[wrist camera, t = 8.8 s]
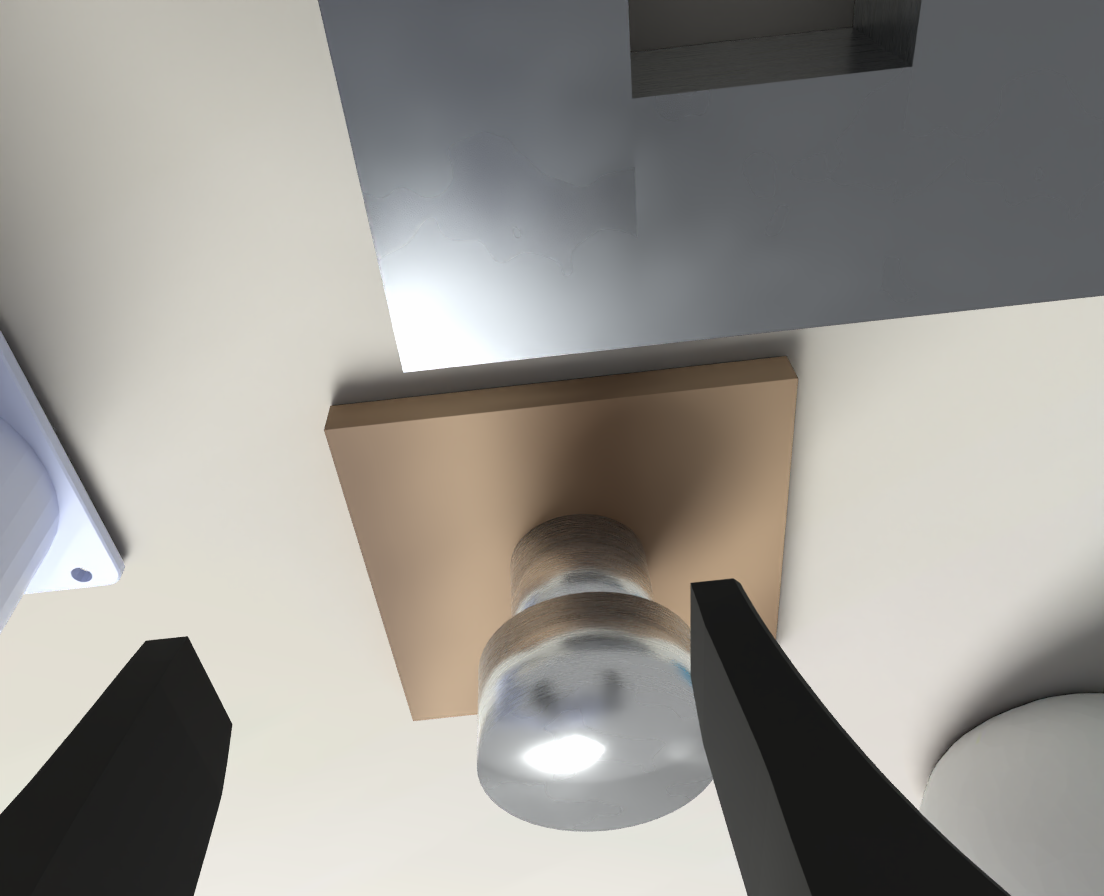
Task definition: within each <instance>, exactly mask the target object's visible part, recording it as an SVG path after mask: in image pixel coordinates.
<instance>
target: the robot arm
mask: <svg viewBox="0 0 1104 896" xmlns="http://www.w3.org/2000/svg"><path fill="white" fill-rule="evenodd" d="M80 568H84V569H86V570H88V571H84V570H82V569H80ZM124 568H125V565H124V562H123V560H122V558H121V556H120V554H119V552H118V550H117V548H116V547H115V545H114V543H113V541H112V539H111V537H110V535H109V533H108V532H107V530H106V528H105V526H104V524H103V522H102V520H101V518H100V516H99V515H98V513H97V511H96V509H95V507H94V505H93V503H92V501H91V500H90V498H89V496H88V494H87V492H86V490H85V488H84V486H83V485H82V483H81V481H80V479H79V477H78V475H77V473H76V471H75V469H74V468H73V466H72V464H71V462H70V460H69V458H68V456H67V454H66V453H65V451H64V449H63V447H62V445H61V443H60V441H59V439H58V438H57V436H56V434H55V432H54V430H53V428H52V426H51V424H50V422H49V421H48V419H47V417H46V415H45V413H44V411H43V409H42V407H41V406H40V404H39V402H38V400H37V398H36V396H35V394H34V392H33V391H32V389H31V387H30V385H29V383H28V381H27V379H26V377H25V375H24V374H23V372H22V370H21V368H20V366H19V364H18V362H17V360H16V359H15V357H14V355H13V353H12V351H11V349H10V347H9V345H8V344H7V342H6V340H5V338H4V336H3V334H2V332H1V331H0V634H1V632H2V630H3V629H4V627H5V625H6V624H7V622H8V620H9V618H10V617H11V615H12V613H13V611H14V610H15V608H16V606H17V605H18V603H19V601H20V599H21V598H22V596H23V594H29V593H39V592H48V591H57V590H67V589H76V588H85V587H95V586H104V585H110V584H114V583H116V582H117V581H118V580H120V577H121V575H122V573H123V571H124ZM690 664H691V682H692V687H693V693H694V698H695V704H696V709H697V715H698V720H699V725H700V731H701V736H702V741H703V746H704V749H705V753H706V756H707V760H708V763H709V766H710V770H711V773H712V777H713V780H714V783H715V787H716V790H717V794H718V797H719V801H720V804H721V807H722V811H723V814H724V817H725V821H726V824H727V828H728V831H729V834H730V838H731V841H732V844H733V848H734V851H735V855H736V858H737V861H738V865H739V868H740V871H741V875H742V878H743V882H744V885H745V888H746V892H747V895H748V896H1011V895H1010V894H1009V893H1008V892H1007V891H1005V890H1004V889H1003V888H1002V887H1001V886H1000V885H999V884H997V883H996V882H995V881H994V880H993V879H992V878H991V877H989V876H988V875H987V874H986V873H985V872H984V871H983V870H981V869H980V868H979V867H978V866H977V865H976V864H975V863H973V862H972V861H971V860H970V859H969V858H968V857H967V856H965V855H964V854H963V853H962V852H961V851H960V850H959V849H958V848H957V847H956V846H955V845H953V844H952V843H951V842H950V841H949V840H948V839H947V838H946V837H945V836H944V835H943V834H942V833H941V832H940V831H939V830H938V829H937V828H936V827H935V826H934V825H933V824H932V823H931V822H930V821H929V820H928V819H926V818H925V817H924V816H923V815H922V814H921V813H920V812H919V811H918V810H917V809H916V808H915V806H914V805H913V804H912V803H911V802H910V801H909V800H908V799H907V798H906V797H905V796H904V795H903V794H902V793H901V792H900V791H899V790H898V789H897V788H896V787H895V786H894V785H893V784H892V783H891V782H890V781H889V780H888V779H887V777H886V776H885V775H884V774H883V773H882V772H881V771H880V770H879V769H878V768H877V767H876V765H875V764H874V763H873V762H872V761H871V760H870V759H869V758H868V757H867V756H866V754H865V753H864V752H863V751H862V750H861V749H860V747H859V746H858V745H857V744H856V743H855V742H854V740H853V739H852V738H851V737H850V736H849V735H848V733H847V732H846V731H845V730H844V729H843V728H842V726H841V725H840V724H839V723H838V722H837V720H836V719H835V718H834V717H833V715H832V714H831V713H830V712H829V711H828V709H827V708H826V707H825V706H824V704H823V703H822V702H821V700H820V699H819V698H818V697H817V695H816V694H815V693H814V691H813V690H812V689H811V687H810V686H809V685H808V684H807V682H806V681H805V680H804V678H803V677H802V676H801V674H800V673H799V672H798V671H797V669H796V668H795V666H794V665H793V664H792V662H791V661H790V660H789V658H788V657H787V655H786V654H785V653H784V651H783V650H782V648H781V647H780V645H779V644H778V642H777V641H776V640H775V638H774V637H773V635H772V634H771V632H770V631H769V629H768V628H767V626H766V625H765V623H764V622H763V620H762V619H761V617H760V615H759V614H758V612H757V611H756V609H755V607H754V606H753V604H752V602H751V601H750V599H749V597H748V596H747V594H746V592H745V590H744V589H743V587H742V585H741V583H739V582H738V581H737V580H735V579H734V578H731V579H721V580H712V581H703V582H693V583H690ZM231 730H232V723H231V721H230V719H229V717H228V715H227V713H226V711H225V709H224V707H223V705H222V703H221V701H220V699H219V697H218V695H217V693H216V691H215V689H214V687H213V685H212V683H211V681H210V679H209V677H208V675H207V673H206V671H205V669H204V667H203V666H202V664H201V662H200V660H199V658H198V656H197V654H196V652H195V650H194V648H193V646H192V644H191V642H190V640H189V638H188V636H186V637H177V638H168V639H158V640H149V641H145V642H144V644H143V645H142V646H141V647H140V648H139V650H138V651H137V652H136V653H135V654H134V656H133V657H132V658H131V659H130V660H129V662H128V663H127V664H126V665H125V667H124V668H123V669H122V670H121V671H120V673H119V674H118V675H117V676H116V678H115V679H114V680H113V681H112V683H111V684H110V685H109V686H108V687H107V689H106V690H105V691H104V692H103V694H102V695H101V696H100V697H99V699H98V700H97V701H96V702H95V704H94V705H93V706H92V707H91V709H90V710H89V711H88V712H87V713H86V715H85V716H84V717H83V718H82V720H81V721H80V722H79V723H78V725H77V726H76V727H75V728H74V729H73V731H72V732H71V733H70V734H69V735H68V737H67V738H66V739H65V740H64V741H63V743H62V744H61V745H60V746H59V747H58V749H57V750H56V751H55V752H54V753H53V755H52V756H51V757H50V758H49V759H48V761H47V762H46V763H45V764H44V765H43V767H42V768H41V769H40V770H39V771H38V773H37V774H36V775H35V776H34V777H33V778H32V780H31V781H30V782H29V783H28V784H27V785H26V786H25V788H24V789H23V790H22V791H21V792H20V793H19V794H18V795H17V797H16V798H15V799H14V800H13V801H12V802H11V803H10V804H9V805H8V807H7V808H6V809H5V810H4V811H3V812H2V813H1V814H0V896H194V892H195V889H196V885H197V882H198V878H199V875H200V872H201V868H202V865H203V861H204V858H205V854H206V851H207V847H208V843H209V840H210V836H211V833H212V829H213V825H214V822H215V818H216V815H217V811H218V807H219V803H220V800H221V796H222V791H223V785H224V779H225V773H226V767H227V760H228V753H229V745H230V738H231Z"/></svg>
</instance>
